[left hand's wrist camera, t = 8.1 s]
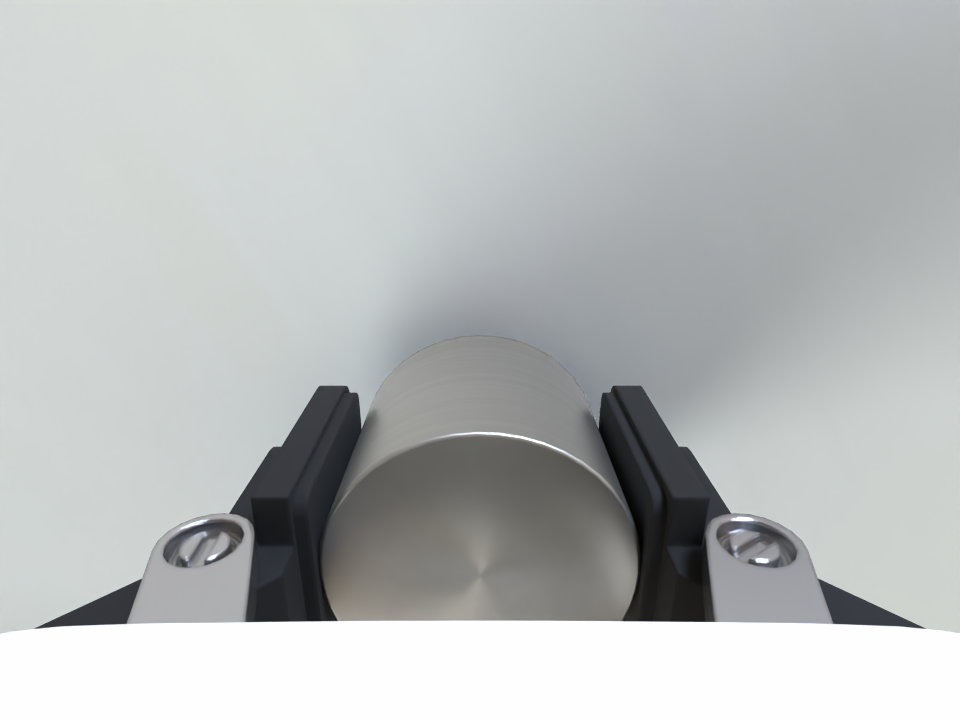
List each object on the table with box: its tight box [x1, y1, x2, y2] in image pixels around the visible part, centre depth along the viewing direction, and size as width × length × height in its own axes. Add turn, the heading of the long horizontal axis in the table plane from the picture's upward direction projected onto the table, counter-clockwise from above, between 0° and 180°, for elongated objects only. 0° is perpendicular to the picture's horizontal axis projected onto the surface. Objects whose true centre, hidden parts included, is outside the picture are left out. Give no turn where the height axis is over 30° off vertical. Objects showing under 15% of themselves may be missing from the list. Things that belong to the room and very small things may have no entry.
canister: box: [319, 336, 641, 621], centre depth 11 cm, size 5×5×4 cm
